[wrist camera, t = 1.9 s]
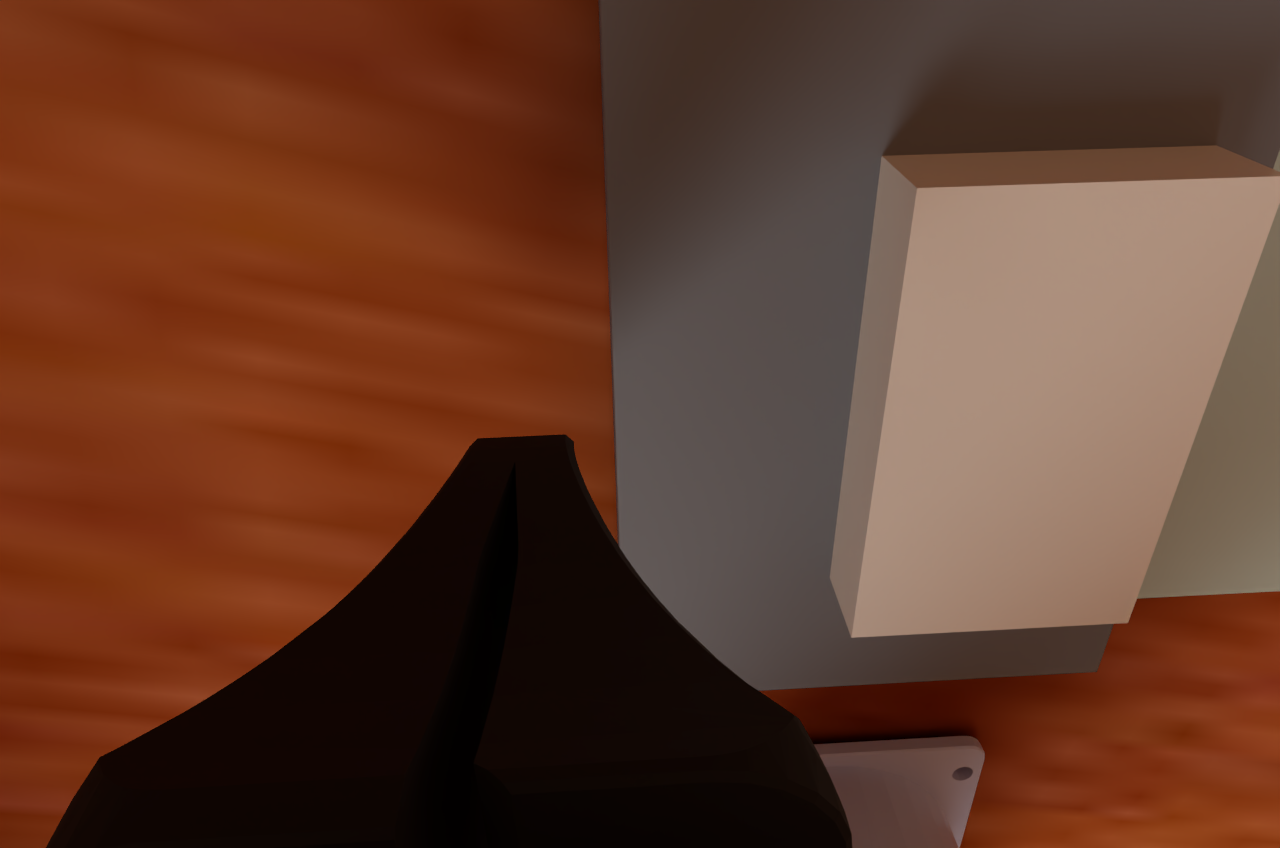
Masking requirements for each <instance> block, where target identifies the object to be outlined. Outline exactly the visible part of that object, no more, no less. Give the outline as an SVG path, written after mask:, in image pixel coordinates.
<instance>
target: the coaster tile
mask: <svg viewBox="0 0 1280 848" xmlns="http://www.w3.org/2000/svg"><path fill="white" fill-rule="evenodd" d="M1279 204H1280V172H1279V171H1276V170H1274V169H1272V168H1269V167H1267V166H1264V165H1262V164H1260V163H1257V162H1255V161H1252V160H1250V159H1248V158H1245V157H1243V156H1240V155H1238V154H1236V153H1233V152H1231V151H1228V150H1226V149H1224V148H1221V147H1219V146H1216V145H1213V146H1181V147H1149V148H1117V149H1085V150H1053V151H1020V152H988V153H956V154H924V155H892V156H882V157H881V166H880V174H879V182H878V190H877V198H876V206H875V214H874V222H873V230H872V239H871V247H870V255H869V263H868V271H867V279H866V287H865V295H864V303H863V312H862V320H861V328H860V336H859V344H858V352H857V360H856V368H855V376H854V385H853V393H852V401H851V409H850V417H849V425H848V433H847V441H846V449H845V458H844V466H843V474H842V482H841V490H840V498H839V506H838V514H837V522H836V531H835V539H834V547H833V555H832V563H831V571H830V580H831V583H832V585H833V588H834V591H835V594H836V596H837V599H838V602H839V605H840V608H841V610H842V613H843V616H844V619H845V622H846V624H847V627H848V630H849V633H850V636H851V638H856V637H875V636H893V635H912V634H931V633H949V632H968V631H987V630H1006V629H1024V628H1043V627H1062V626H1081V625H1099V624H1118V623H1128V622H1129V619H1130V616H1131V613H1132V611H1133V608H1134V605H1135V602H1136V600H1137V597H1138V594H1139V591H1140V588H1141V586H1142V583H1143V580H1144V577H1145V575H1146V572H1147V569H1148V566H1149V564H1150V561H1151V558H1152V555H1153V552H1154V550H1155V547H1156V544H1157V541H1158V539H1159V536H1160V533H1161V530H1162V528H1163V525H1164V522H1165V519H1166V516H1167V514H1168V511H1169V508H1170V505H1171V503H1172V500H1173V497H1174V494H1175V492H1176V489H1177V486H1178V483H1179V480H1180V478H1181V475H1182V472H1183V469H1184V467H1185V464H1186V461H1187V458H1188V456H1189V453H1190V450H1191V447H1192V444H1193V442H1194V439H1195V436H1196V433H1197V431H1198V428H1199V425H1200V422H1201V420H1202V417H1203V414H1204V411H1205V409H1206V406H1207V403H1208V400H1209V397H1210V395H1211V392H1212V389H1213V386H1214V384H1215V381H1216V378H1217V375H1218V373H1219V370H1220V367H1221V364H1222V361H1223V359H1224V356H1225V353H1226V350H1227V348H1228V345H1229V342H1230V339H1231V337H1232V334H1233V331H1234V328H1235V325H1236V323H1237V320H1238V317H1239V314H1240V312H1241V309H1242V306H1243V303H1244V301H1245V298H1246V295H1247V292H1248V289H1249V287H1250V284H1251V281H1252V278H1253V276H1254V273H1255V270H1256V267H1257V265H1258V262H1259V259H1260V256H1261V253H1262V251H1263V248H1264V245H1265V242H1266V240H1267V237H1268V234H1269V231H1270V229H1271V226H1272V223H1273V220H1274V217H1275V215H1276V212H1277V209H1278V206H1279Z"/></svg>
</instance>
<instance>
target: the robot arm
mask: <svg viewBox="0 0 1280 848" xmlns="http://www.w3.org/2000/svg"><path fill="white" fill-rule="evenodd" d="M984 759H985V752H984V750H983V748H982V746H981V744H980V742H979V741H978V740H977V739H976V738H974V737H971V736H949V737H931V738H914V739H897V740H880V741H863V742H845V743H828V744H813V742H812V740H811V739H810V737H809V735H808V733H807V731H806V730H805V728H804V726H803V725H802V723H801V721H800V720H799V719H798V718H797V717H796V716H795V715H793V714H792V713H790V712H789V711H787V710H786V709H784V708H783V707H781V706H780V705H778V704H777V703H776V702H774V701H773V700H771V699H770V698H768V697H767V696H765V695H764V694H762V693H761V692H759V691H758V690H756V689H755V688H753V687H752V686H751V685H749V684H748V683H746V682H745V681H744V680H743V679H741V678H740V677H739V676H738V675H737V674H735V673H734V672H733V671H732V670H730V669H729V668H728V667H727V666H726V665H724V664H723V663H722V662H721V661H719V660H718V659H717V658H716V657H715V656H714V655H713V654H712V653H711V652H710V651H709V650H708V649H707V648H706V647H705V646H703V645H702V644H701V643H700V642H699V641H698V640H697V639H696V638H695V637H694V636H693V635H692V634H691V633H690V632H689V631H688V630H687V629H686V628H685V627H684V626H683V625H681V624H680V623H679V622H678V621H677V620H676V618H675V617H674V616H673V615H672V614H671V613H670V612H669V611H668V609H667V608H666V607H665V606H664V605H663V604H662V603H661V602H660V601H659V599H658V598H657V597H656V596H655V595H654V593H653V592H652V591H651V590H650V588H649V587H648V586H647V585H646V583H645V582H644V581H643V580H642V579H641V577H640V576H639V575H638V573H637V572H636V570H635V569H634V568H633V566H632V565H631V564H630V562H629V561H628V559H627V558H626V556H625V555H624V553H623V552H622V550H621V549H620V547H619V546H618V544H617V543H616V541H615V539H614V538H613V536H612V535H611V533H610V531H609V530H608V528H607V526H606V525H605V523H604V521H603V519H602V517H601V515H600V513H599V511H598V510H597V508H596V506H595V504H594V502H593V500H592V498H591V496H590V494H589V492H588V490H587V487H586V485H585V483H584V480H583V478H582V475H581V473H580V470H579V467H578V464H577V461H576V457H575V452H574V441H572V440H571V439H570V438H569V437H568V436H566V435H545V436H523V437H501V438H479V439H477V440H476V441H475V442H474V443H473V444H472V445H471V446H470V447H469V449H468V450H467V452H466V453H465V455H464V456H463V458H462V459H461V461H460V462H459V464H458V465H457V467H456V468H455V470H454V471H453V472H452V474H451V475H450V477H449V478H448V480H447V481H446V482H445V484H444V485H443V486H442V488H441V489H440V491H439V492H438V493H437V495H436V496H435V497H434V499H433V500H432V501H431V502H430V504H429V505H428V506H427V508H426V509H425V510H424V511H423V513H422V514H421V515H420V516H419V518H418V519H417V520H416V522H415V523H414V524H413V525H412V527H411V528H410V529H409V530H408V531H407V532H406V534H405V535H404V536H403V537H402V538H401V539H400V540H399V541H398V543H397V544H396V545H395V546H394V547H393V548H392V549H391V550H390V552H389V553H388V554H387V555H386V556H385V557H384V558H383V559H382V561H381V562H380V563H379V564H378V565H377V566H376V567H375V568H374V569H373V570H372V571H371V572H370V573H369V574H368V575H367V576H366V577H365V578H364V579H363V580H362V581H361V582H360V583H359V584H358V585H357V586H356V587H355V588H354V589H353V590H352V591H351V592H350V593H349V594H348V595H347V596H346V597H344V598H343V599H342V600H341V601H340V602H339V603H338V604H337V605H336V606H335V607H334V608H332V609H331V610H330V611H329V612H328V613H327V614H325V615H324V616H323V617H322V618H320V619H319V620H318V621H316V622H315V623H314V624H313V625H311V626H310V627H309V628H307V629H306V630H305V631H304V632H302V633H301V634H300V635H298V636H297V637H296V638H294V639H293V640H292V641H291V642H289V643H288V644H287V645H285V646H284V647H283V648H282V649H280V650H279V651H278V652H276V653H275V654H274V655H272V656H271V657H270V658H268V659H267V660H265V661H264V662H262V663H261V664H259V665H258V666H257V667H255V668H254V669H252V670H251V671H249V672H248V673H246V674H245V675H243V676H242V677H240V678H239V679H237V680H236V681H234V682H233V683H231V684H229V685H228V686H226V687H225V688H223V689H221V690H220V691H218V692H217V693H215V694H214V695H212V696H210V697H209V698H207V699H206V700H204V701H202V702H201V703H199V704H197V705H196V706H194V707H192V708H190V709H189V710H187V711H185V712H184V713H182V714H180V715H178V716H176V717H175V718H173V719H171V720H169V721H167V722H165V723H163V724H162V725H160V726H158V727H156V728H154V729H152V730H151V731H149V732H147V733H145V734H143V735H141V736H140V737H138V738H136V739H134V740H132V741H130V742H129V743H127V744H125V745H123V746H121V747H119V748H117V749H115V750H113V751H111V752H109V753H107V754H105V755H103V756H101V757H100V758H99V759H98V761H97V762H96V764H95V766H94V767H93V769H92V770H91V772H90V773H89V775H88V776H87V778H86V779H85V781H84V782H83V784H82V785H81V787H80V789H79V790H78V792H77V793H76V795H75V796H74V798H73V799H72V801H71V803H70V805H69V807H68V808H67V810H66V812H65V814H64V816H63V817H62V819H61V821H60V823H59V825H58V826H57V828H56V830H55V832H54V834H53V836H52V838H51V839H50V841H49V843H48V845H47V847H46V848H960V845H961V842H962V838H963V835H964V831H965V827H966V824H967V820H968V817H969V813H970V809H971V806H972V802H973V799H974V795H975V791H976V788H977V784H978V781H979V777H980V774H981V770H982V766H983V763H984Z"/></svg>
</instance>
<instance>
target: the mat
mask: <svg viewBox="0 0 1280 848" xmlns="http://www.w3.org/2000/svg"><path fill="white" fill-rule="evenodd" d="M1273 169H1274V170H1276V171H1279V172H1280V150H1279V153H1278V156H1277V159H1276V162H1275V165H1274V167H1273ZM1271 591H1280V204H1279V206H1278V209H1277V212H1276V215H1275V217H1274V220H1273V223H1272V226H1271V229H1270V231H1269V234H1268V237H1267V240H1266V242H1265V245H1264V248H1263V251H1262V253H1261V256H1260V259H1259V262H1258V265H1257V267H1256V270H1255V273H1254V276H1253V278H1252V281H1251V284H1250V287H1249V289H1248V292H1247V295H1246V298H1245V301H1244V303H1243V306H1242V309H1241V312H1240V314H1239V317H1238V320H1237V323H1236V325H1235V328H1234V331H1233V334H1232V337H1231V339H1230V342H1229V345H1228V348H1227V350H1226V353H1225V356H1224V359H1223V361H1222V364H1221V367H1220V370H1219V373H1218V375H1217V378H1216V381H1215V384H1214V386H1213V389H1212V392H1211V395H1210V397H1209V400H1208V403H1207V406H1206V409H1205V411H1204V414H1203V417H1202V420H1201V422H1200V425H1199V428H1198V431H1197V433H1196V436H1195V439H1194V442H1193V444H1192V447H1191V450H1190V453H1189V456H1188V458H1187V461H1186V464H1185V467H1184V469H1183V472H1182V475H1181V478H1180V480H1179V483H1178V486H1177V489H1176V492H1175V494H1174V497H1173V500H1172V503H1171V505H1170V508H1169V511H1168V514H1167V516H1166V519H1165V522H1164V525H1163V528H1162V530H1161V533H1160V536H1159V539H1158V541H1157V544H1156V547H1155V550H1154V552H1153V555H1152V558H1151V561H1150V564H1149V566H1148V569H1147V572H1146V575H1145V577H1144V580H1143V583H1142V586H1141V588H1140V591H1139V594H1138V597H1137V598H1156V597H1176V596H1195V595H1214V594H1233V593H1252V592H1271Z"/></svg>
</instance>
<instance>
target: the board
mask: <svg viewBox="0 0 1280 848" xmlns="http://www.w3.org/2000/svg"><path fill="white" fill-rule="evenodd" d="M599 27H600V55H601V82H602V110H603V138H604V166H605V194H606V222H607V250H608V278H609V306H610V333H611V361H612V389H613V417H614V445H615V473H616V501H617V529H618V546H619V547H620V549H621V550H622V552H623V553H624V555H625V556H626V558H627V559H628V561H629V562H630V564H631V565H632V566H633V568H634V569H635V570H636V572H637V573H638V575H639V576H640V577H641V579H642V580H643V581H644V582H645V583H646V585H647V586H648V587H649V588H650V590H651V591H652V592H653V593H654V595H655V596H656V597H657V598H658V599H659V601H660V602H661V603H662V604H663V605H664V606H665V607H666V608H667V609H668V611H669V612H670V613H671V614H672V615H673V616H674V617H675V618H676V620H677V621H678V622H679V623H680V624H681V625H683V626H684V627H685V628H686V629H687V630H688V631H689V632H690V633H691V634H692V635H693V636H694V637H695V638H696V639H697V640H698V641H699V642H700V643H701V644H702V645H703V646H705V647H706V648H707V649H708V650H709V651H710V652H711V653H712V654H713V655H714V656H715V657H716V658H717V659H718V660H719V661H721V662H722V663H723V664H724V665H726V666H727V667H728V668H729V669H730V670H732V671H733V672H734V673H735V674H737V675H738V676H739V677H740V678H741V679H743V680H744V681H745V682H746V683H748V684H749V685H751V686H752V687H753V688H755V689H756V690H758V691H761V690H779V689H797V688H815V687H833V686H851V685H869V684H887V683H905V682H923V681H941V680H959V679H977V678H995V677H1013V676H1031V675H1049V674H1067V673H1085V672H1097V670H1098V667H1099V664H1100V661H1101V659H1102V656H1103V653H1104V650H1105V647H1106V644H1107V641H1108V639H1109V636H1110V633H1111V630H1112V627H1113V624H1099V625H1081V626H1062V627H1043V628H1024V629H1006V630H987V631H968V632H949V633H931V634H912V635H893V636H875V637H856V638H851V636H850V633H849V630H848V627H847V624H846V622H845V619H844V616H843V613H842V610H841V608H840V605H839V602H838V599H837V596H836V594H835V591H834V588H833V585H832V583H831V580H830V571H831V563H832V555H833V547H834V539H835V531H836V522H837V514H838V506H839V498H840V490H841V482H842V474H843V466H844V458H845V449H846V441H847V433H848V425H849V417H850V409H851V401H852V393H853V385H854V376H855V368H856V360H857V352H858V344H859V336H860V328H861V320H862V312H863V303H864V295H865V287H866V279H867V271H868V263H869V255H870V247H871V239H872V230H873V222H874V214H875V206H876V198H877V190H878V182H879V174H880V166H881V157H882V156H892V155H924V154H956V153H988V152H1020V151H1053V150H1085V149H1117V148H1149V147H1181V146H1213V145H1216V146H1219V147H1221V148H1224V149H1226V150H1228V151H1231V152H1233V153H1236V154H1238V155H1240V156H1243V157H1245V158H1248V159H1250V160H1252V161H1255V162H1257V163H1260V164H1262V165H1264V166H1267V167H1269V168H1272V169H1273V167H1274V165H1275V162H1276V159H1277V156H1278V153H1279V150H1280V0H599Z"/></svg>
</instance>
